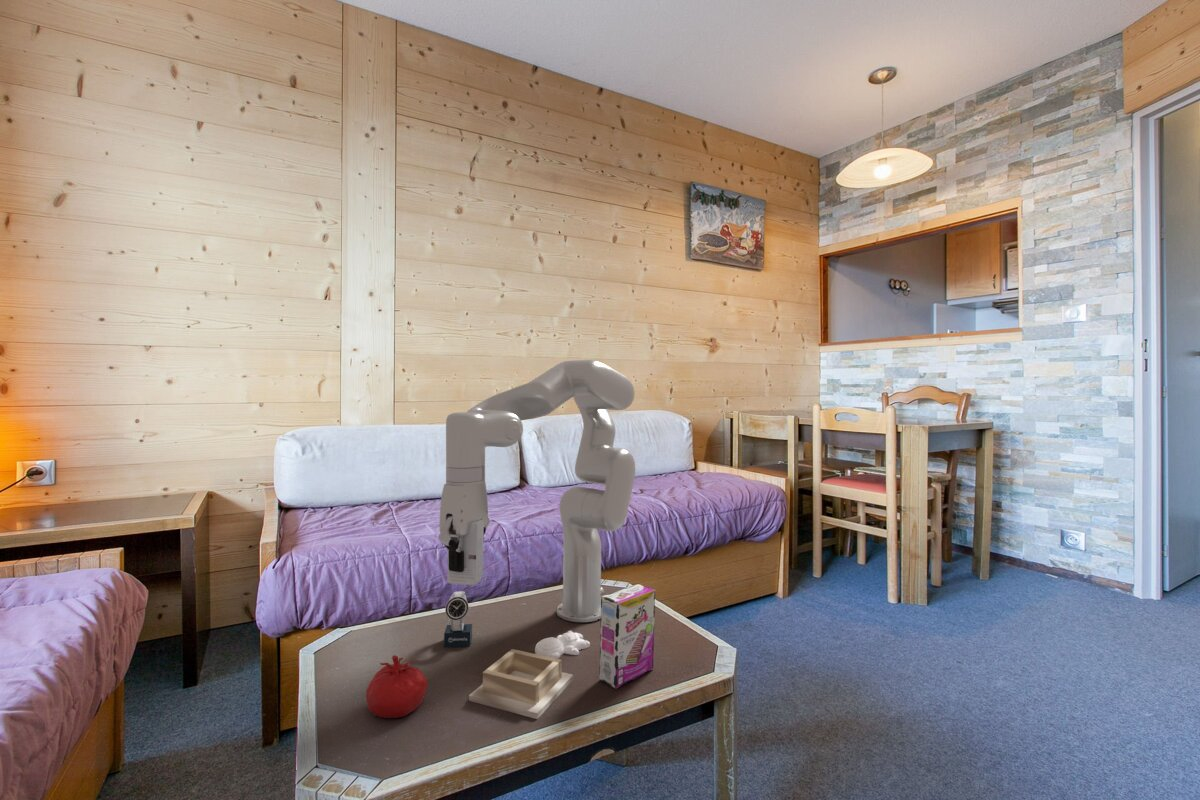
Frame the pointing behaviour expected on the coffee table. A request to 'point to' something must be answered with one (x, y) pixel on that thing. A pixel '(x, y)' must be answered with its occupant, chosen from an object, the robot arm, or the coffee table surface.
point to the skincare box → (470, 557)
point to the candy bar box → (626, 634)
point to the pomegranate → (396, 689)
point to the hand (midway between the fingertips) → (465, 565)
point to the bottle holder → (522, 683)
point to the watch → (457, 622)
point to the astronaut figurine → (561, 645)
